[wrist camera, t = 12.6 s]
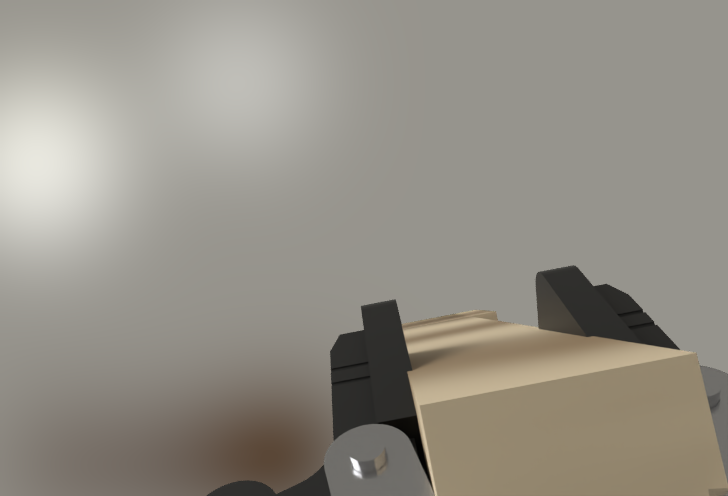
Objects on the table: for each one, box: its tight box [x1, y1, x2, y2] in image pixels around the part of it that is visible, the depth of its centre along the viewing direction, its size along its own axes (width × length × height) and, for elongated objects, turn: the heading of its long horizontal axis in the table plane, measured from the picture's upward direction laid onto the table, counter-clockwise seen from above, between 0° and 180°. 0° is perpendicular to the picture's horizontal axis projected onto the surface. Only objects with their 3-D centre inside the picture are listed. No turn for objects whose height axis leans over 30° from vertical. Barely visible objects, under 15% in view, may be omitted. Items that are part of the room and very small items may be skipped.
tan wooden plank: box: [402, 310, 728, 496], centre depth 17 cm, size 22×5×2 cm, turn 178°
